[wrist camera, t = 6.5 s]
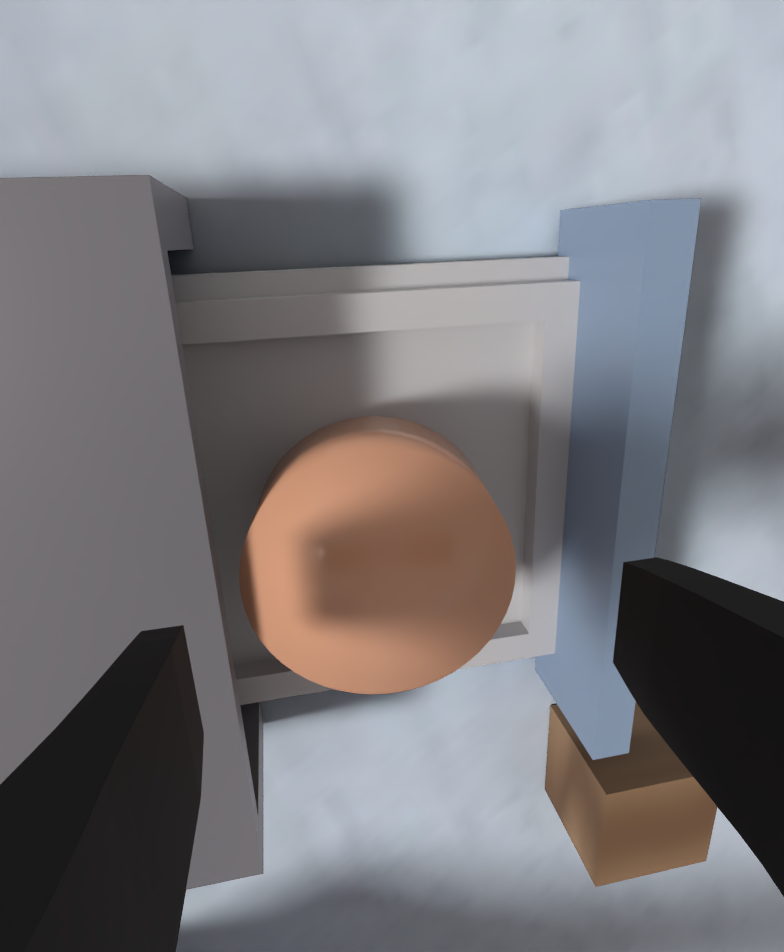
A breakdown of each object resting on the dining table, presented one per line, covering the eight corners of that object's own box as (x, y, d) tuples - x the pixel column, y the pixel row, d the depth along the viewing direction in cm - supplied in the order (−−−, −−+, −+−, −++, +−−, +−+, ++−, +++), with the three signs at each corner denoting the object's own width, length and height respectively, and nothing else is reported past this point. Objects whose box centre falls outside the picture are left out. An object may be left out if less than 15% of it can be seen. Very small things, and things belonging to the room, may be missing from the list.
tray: (565, 664, 19) (628, 752, 16) (199, 726, 17) (184, 840, 14) (600, 208, 14) (701, 198, 11) (102, 226, 13) (45, 219, 9)
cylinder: (491, 616, 15) (516, 679, 13) (274, 639, 15) (261, 707, 13) (486, 404, 13) (515, 436, 11) (238, 428, 13) (215, 464, 11)
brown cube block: (640, 769, 22) (705, 860, 18) (544, 789, 21) (595, 886, 18) (652, 687, 20) (724, 770, 17) (550, 705, 20) (606, 794, 17)
